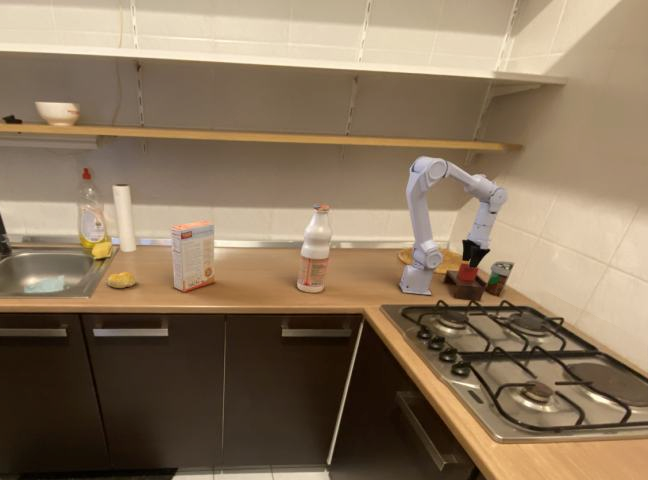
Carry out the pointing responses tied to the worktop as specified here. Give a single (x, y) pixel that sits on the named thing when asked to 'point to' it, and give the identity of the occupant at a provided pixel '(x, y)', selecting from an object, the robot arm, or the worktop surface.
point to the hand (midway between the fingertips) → (468, 264)
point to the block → (467, 272)
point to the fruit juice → (315, 251)
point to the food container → (499, 277)
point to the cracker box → (193, 255)
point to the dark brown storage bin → (466, 286)
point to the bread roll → (121, 280)
